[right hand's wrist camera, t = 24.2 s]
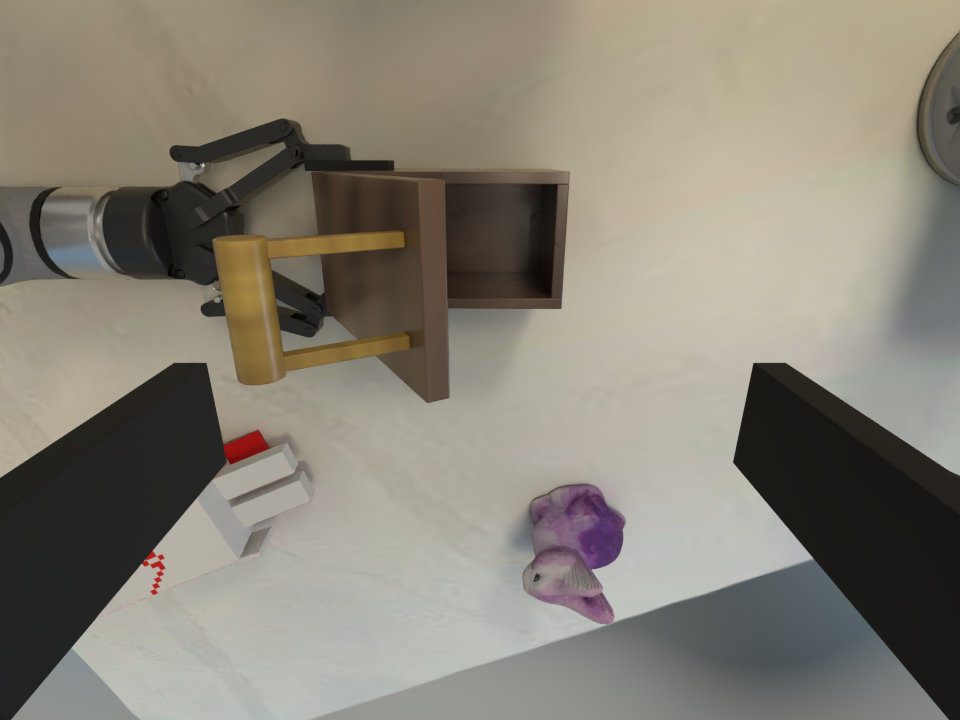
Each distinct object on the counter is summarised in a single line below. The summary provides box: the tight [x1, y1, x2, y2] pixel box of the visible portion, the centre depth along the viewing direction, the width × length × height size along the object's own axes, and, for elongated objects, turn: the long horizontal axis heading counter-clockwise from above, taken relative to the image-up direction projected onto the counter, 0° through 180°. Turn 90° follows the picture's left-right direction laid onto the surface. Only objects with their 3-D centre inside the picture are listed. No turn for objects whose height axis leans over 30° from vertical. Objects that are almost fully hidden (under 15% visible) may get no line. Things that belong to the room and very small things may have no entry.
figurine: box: [523, 485, 626, 625], centre depth 54 cm, size 9×10×15 cm
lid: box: [212, 172, 450, 403], centre depth 29 cm, size 18×10×9 cm
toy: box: [97, 430, 314, 618], centre depth 55 cm, size 12×13×30 cm
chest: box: [324, 169, 570, 309], centre depth 44 cm, size 18×10×11 cm, turn 90°
